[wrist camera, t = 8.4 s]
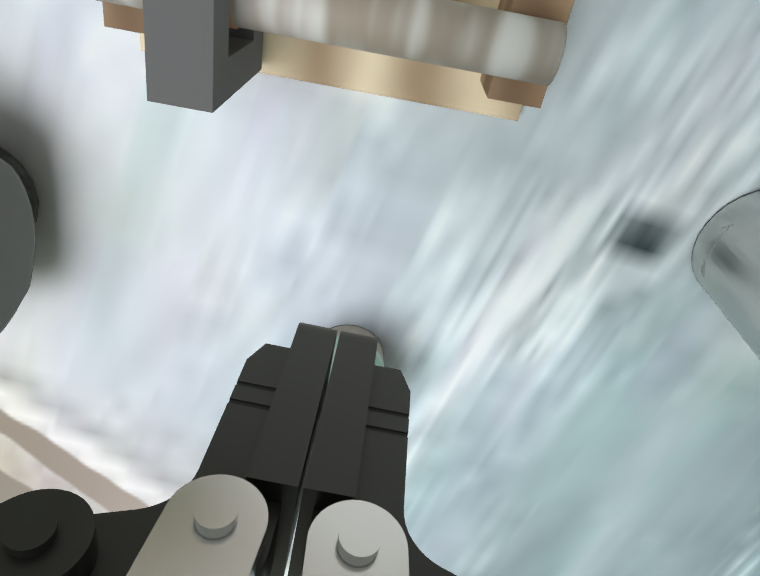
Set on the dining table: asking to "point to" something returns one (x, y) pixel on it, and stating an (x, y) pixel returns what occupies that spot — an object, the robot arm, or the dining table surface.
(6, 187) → the dark grey bottle
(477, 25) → the pipe rig
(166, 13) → the collar
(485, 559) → the dining table surface
